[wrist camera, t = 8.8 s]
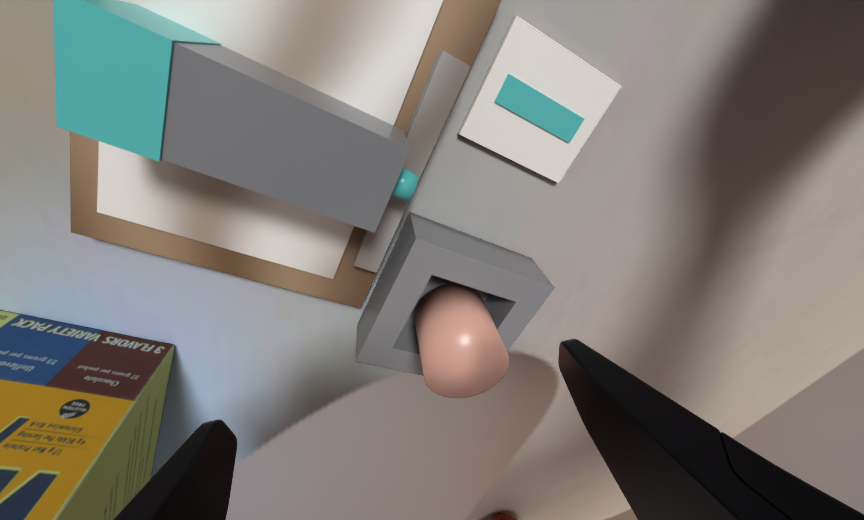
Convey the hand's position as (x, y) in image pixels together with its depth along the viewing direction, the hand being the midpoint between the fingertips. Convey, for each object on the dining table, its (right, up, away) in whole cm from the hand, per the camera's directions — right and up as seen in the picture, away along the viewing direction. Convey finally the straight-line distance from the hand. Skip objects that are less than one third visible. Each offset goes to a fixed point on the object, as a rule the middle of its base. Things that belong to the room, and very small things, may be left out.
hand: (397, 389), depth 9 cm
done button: (+2, 0, +10) cm, 10 cm away
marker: (-5, +9, +5) cm, 11 cm away
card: (+6, +10, +7) cm, 14 cm away
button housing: (+2, +1, +12) cm, 12 cm away
